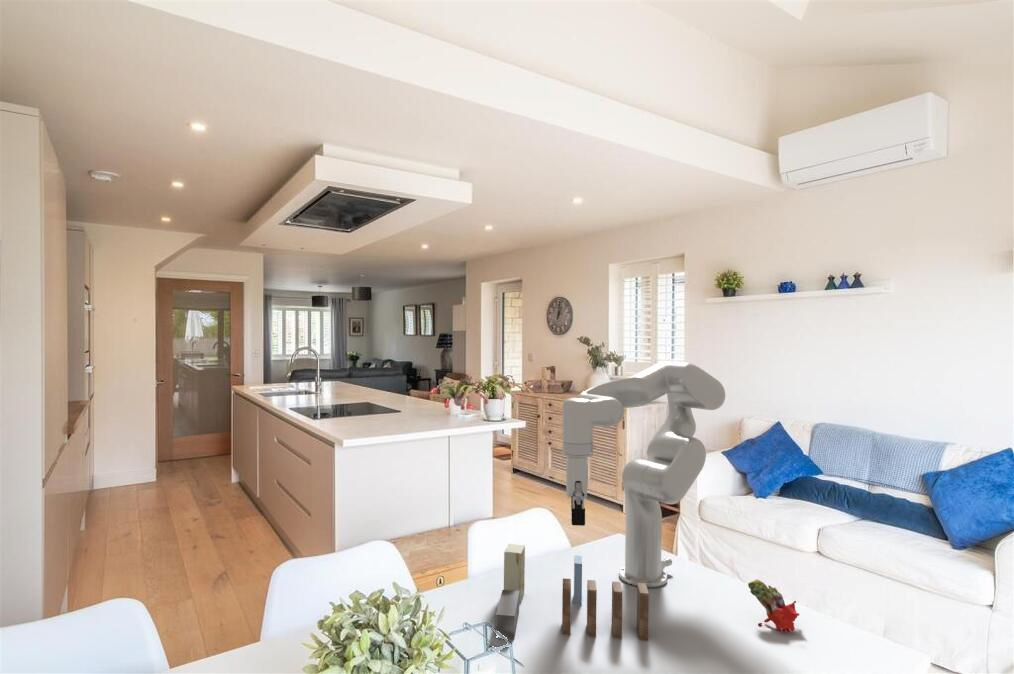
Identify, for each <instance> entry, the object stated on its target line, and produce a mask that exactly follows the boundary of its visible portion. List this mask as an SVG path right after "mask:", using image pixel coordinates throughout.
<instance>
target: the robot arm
mask: <svg viewBox="0 0 1014 674" xmlns="http://www.w3.org/2000/svg"><path fill="white" fill-rule="evenodd" d="M665 395H666V397H667V406H668V414H667V418H666V419H665V421H664V423H663V424H662V426H661V427H660V428H659V429H658V430H657V432H656V434H655V435H653V437H652V438H651V440H650V442H649V444H648V446H647V450H646V455H647V458H648V459H649V460H648V459H647V460H646V459H633V460H630V461H629V462H627V463H626V465H625V466H624V467H623V471H622V475H621V476H622V477H621V478H622V479H621V480H622V487H623V491H624V492H623V493H624V500H625V529H624V530H625V533H624V534H625V535H624V536H625V537H624V538H625V543H624V544H625V546H624V547H625V548H624V566H622V567H621V568H620V569H619V571H618V575H619V579H621V580H622V581H623V582H625V583H626V582H627V583H626V584H629V585H631V584H632V585H631V586H636V587H637V583H646V586H647V588H658V587H662V586H664V585H665V584H666V583H667V582H668V575H667V573H666V572H664V569H665V568H666V567H670V566H672V564H673V560H672V559H671V558H670V557H667V558H664V559H663V558H662V539H663V538H662V532H663V531H662V525H663V524H662V523H663V515H662V509H661V505H660V503H662V504H666V505H675V504H677V503H680V501H682V499H684V497H685V496H686V494H687V493H688V492H689V490H690V489H691V487H692V486H693V484H694V483H695V481H696V479H697V478H698V477H699V475H700V473H701V472H702V470H703V468H704V467H705V463H706V459H707V451H706V446H705V445H704V443H703V442H702V441H701V440H700V439H698V438H697V437H694V435H695V433H696V431H697V425H696V420H695V417H694V415H693V412H692V409H698V410H699V409H700V410H707V411H716V410H718V409H719V408H721V407H722V406H723V404H724V402H725V400H726V390H725V388H724V385H723V384H722V383H721V382H720V381H719V380H718V379H717V378H715V377H714V376H713V375H711V374H710V373H708V372H707V371H705V370H704V369H702V368H701V367H700V366H697V365H695V364H694V363H689V362H684V361H683V362H681V361H660V362H657V363H655V364H653V365H651V366H649V367H648V368H645V369H643V370H641V371H640V372H637V373H635V374H633V375H631V376H628V377H623V378H620V379H616V380H612V381H608V382H605V383H601V384H597V385H596V386H593V387H591V388H588V389H586V390H584V391H582V392H581V393H579V394H578V395H577V396H576V397H570V398H566V399H564V401H563V402H562V455H563V456H564V457H566V463H565V465H566V467H565V473H566V475H565V477H566V478H565V480H566V483H565V487H566V498H567V499H571V503H570V504H571V507H570V508H571V509H570V510H571V512H570V514H571V525H572V526H581V527H584V526H586V508H585V499H586V498H587V497H588V496H587V495H588V487H589V486H588V485H589V458H591V457H594V428H595V427H603V428H610V427H615V426H616V425H618V424H619V423H620V422H621V421H622V420H623V418H624V415H625V409H626V408H627V409H628V408H629V409H632V408H639V407H643V406H647V405H649V404H650V403H652V402H654V401H655V400H658V399H659V398H661V397H663V396H665ZM624 408H625V409H624Z"/></svg>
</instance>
